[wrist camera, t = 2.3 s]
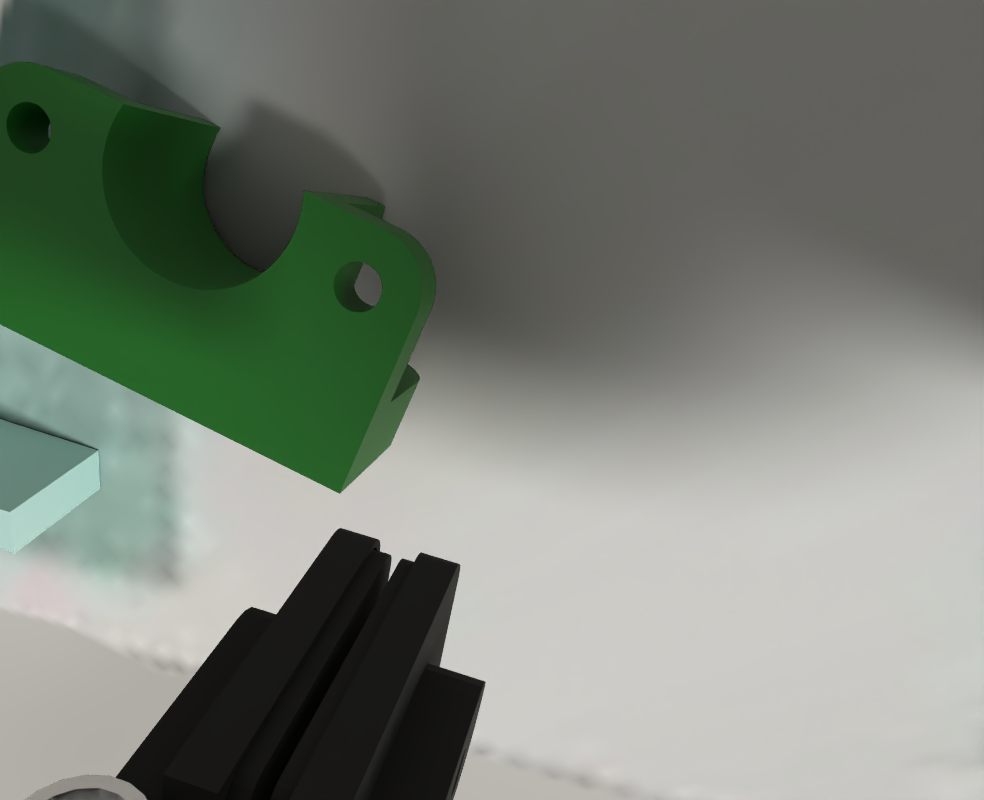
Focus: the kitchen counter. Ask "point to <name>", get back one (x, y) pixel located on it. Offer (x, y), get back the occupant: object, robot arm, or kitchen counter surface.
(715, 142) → the kitchen counter surface
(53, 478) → the end holder
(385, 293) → the clamp
